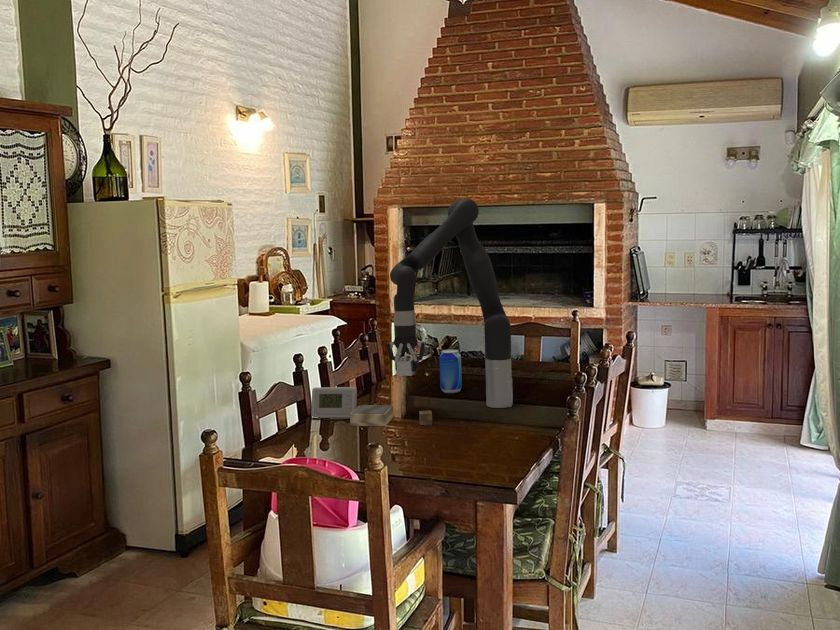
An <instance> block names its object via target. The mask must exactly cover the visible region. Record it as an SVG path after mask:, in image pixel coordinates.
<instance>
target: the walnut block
mask: <svg viewBox="0 0 840 630" xmlns="http://www.w3.org/2000/svg"><path fill="white" fill-rule="evenodd" d="M418 412H419V413H418V414H419V417H418V418H419V425H424V426H433V413H432V410H419V411H418Z"/></svg>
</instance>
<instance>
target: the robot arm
mask: <svg viewBox="0 0 840 630" xmlns="http://www.w3.org/2000/svg"><path fill="white" fill-rule="evenodd" d="M479 209H480V208H479V206H478V204H477V203H476V201H474V200H473V199H471V198H462V199H459V200H456V201H454V202H452V203H451V204H450V205H449V207H448V209H447V218H446V219H445V220H444V221H443V222H442V223H441V225H439V226H438V227H437V228H436V229H434V230H433V231H432V232H431V233H430V234H429V235H427V236H426V237H425V238H424V239H422V241H421V242H419V243H418V245H417V246H416V247H415V248H414V249H413V250H412V251H411V252H410V253H409V254H408V255H407V256H405V257H404V258H403V259H401V260H400V261H399V262H397V264H395V265H394V266H393V267H392V269H391V271H390V274H389V278H390V282H392V283H393V284H394V285H395V286H396V293H395V294H394V296H393V311H394V312H393V328H394V329H393V330H394V331H393V332H394V340H393V341H391V342H390V341H389V342H387V343H386V344H385V347H386V351H387V353H388V358H389V360H390V361H394V366H395V371H397V364H396V361H397V360H399V359H400V358H401V355H402V353H407V354H409V353H410V356H412V357H413V359H414V362H413V365H414V372H415V373H416V372H417V371H418V370H419V361H420V360H422V359H423V358H424V355H425V350H426V349H425V348H426V341H419V340H418V338H417V325H416V324H417V321H416V312H415V292H416V286H417V276H416V275H417V274H416V273H417V272H418V271H420V270H421V269H424V268H426V266H428V265H429V264H430V263H431V262H432V261H433V260H434V259H435V258H436V256H438V254H440V252H441V251H442V250H443V249H444V248H445V246H447V245H448V243H450V242H451V241H452V239H454V238H455V239H456V240H457V244H458V245H459V251H460V254H461V256H462V260H463V263H464V268H465V270H466V273H467V277H468V280H469V282H470V285H471V289H473V292H474V294H475V296H476V298H477V300H478V302H479V305H480V308H481V312H482V313H481V314H482V318H483V324H484V325H483V327H484V328H483V329H484V333H483V334H484V361H485V362H484V363H485V364H484V365H485V395H486V398H485V399H486V400H485V401H486V406H487V407H489V408H494V409H502V408H503V409H505V408H512V406H513V403H514V401H513V400H514V398H513V397H514V396H513V391H514V390H513V377H512V327H511V322H510V320H509V318H508V316H507V313H506V311H505V310H504V307H503V304H502V301H501V299H500V296H499V290H498V284H497V278H496V275H495V274H496V273H495V271H494V268H493V264H492V261H491V257H490V256H489V254H488V252H487V250H486V248H485V247H484V246H483V244H482V243H481V241H480V240H479V238H478V236H477V233H476V230H475V226H474V222H475V221H476V220H477V219H478V216H479V213H480V212H479ZM417 345H418V348H419V353H418V355H417V352H416V351H417V350H416V349H415V348H416V346H417ZM394 347H395V348H396V349H397V352H396V354H395V353H394V351H393V348H394ZM394 354H395V355H394Z"/></svg>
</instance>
